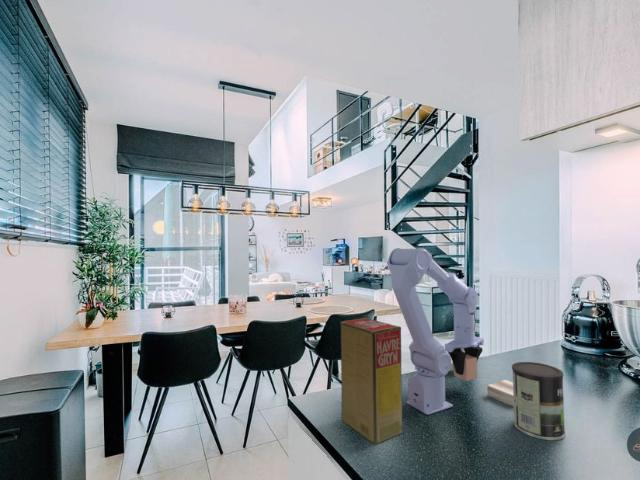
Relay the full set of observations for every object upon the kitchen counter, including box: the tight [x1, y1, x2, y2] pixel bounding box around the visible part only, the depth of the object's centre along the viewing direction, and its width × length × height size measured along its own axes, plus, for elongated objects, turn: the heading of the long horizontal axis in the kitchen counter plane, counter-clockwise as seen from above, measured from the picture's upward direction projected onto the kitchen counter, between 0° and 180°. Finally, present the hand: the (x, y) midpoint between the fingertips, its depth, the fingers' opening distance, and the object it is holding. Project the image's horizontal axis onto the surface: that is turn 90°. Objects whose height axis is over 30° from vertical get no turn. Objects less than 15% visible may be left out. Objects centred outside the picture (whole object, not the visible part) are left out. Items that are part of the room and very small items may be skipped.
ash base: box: [486, 379, 514, 408], centre depth 96 cm, size 8×8×3 cm
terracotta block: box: [453, 355, 478, 382], centre depth 101 cm, size 4×4×6 cm
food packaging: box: [340, 317, 404, 446], centre depth 83 cm, size 13×9×25 cm
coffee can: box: [511, 361, 566, 442], centre depth 80 cm, size 10×10×14 cm
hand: (465, 372), depth 101 cm, fingers closed on terracotta block, 4 cm apart
